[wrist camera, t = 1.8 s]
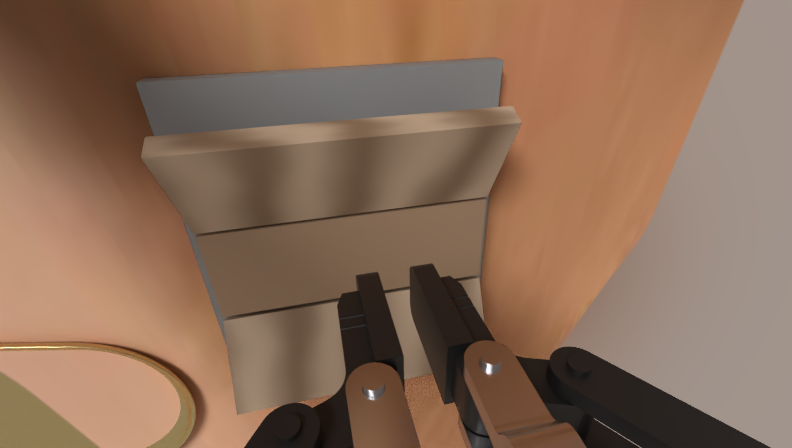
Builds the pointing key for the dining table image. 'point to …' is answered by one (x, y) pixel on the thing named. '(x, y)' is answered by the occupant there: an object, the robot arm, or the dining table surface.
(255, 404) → the far plank
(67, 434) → the serving platter
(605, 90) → the dining table surface
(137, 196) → the dining table surface
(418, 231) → the panel
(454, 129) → the near plank
